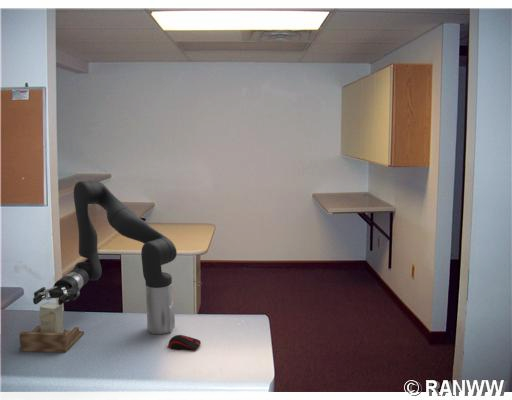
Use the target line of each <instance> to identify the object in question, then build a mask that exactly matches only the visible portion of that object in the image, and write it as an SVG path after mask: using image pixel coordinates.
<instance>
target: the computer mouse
mask: <svg viewBox="0 0 512 400" xmlns="http://www.w3.org/2000/svg"><path fill="white" fill-rule="evenodd" d="M200 346H201V340H199V339H198V338H194V337H191V336H189V335H188V336H187V335H183V334H175V335H173V336H172V337H171V338H170V339H169V342H168V345H167V347H168V349H169V350H172V351H196V350H198V349H199V348H200Z"/></svg>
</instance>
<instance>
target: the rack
mask: <svg viewBox="0 0 512 400" xmlns="http://www.w3.org/2000/svg"><path fill="white" fill-rule="evenodd" d="M18 334H19V335H18V336H19V346H18V350H24V351H23V352H25V351H26V352H42V353H44V352H46V353H67V352H68V351H69V350H71V348H72V347H73V346H74V345H75V344H76V342H78V341H79V340H80V339H81V337H83V336H84V334H85V331H84V330H80V327H77V326H75V327H74V328H73V329H71V330H65V329H63V333H45V332H41V326H40V325H37V326H36V327H34V328H33V329H32V330H31V331H20V332H19V333H18Z"/></svg>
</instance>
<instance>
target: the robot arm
mask: <svg viewBox="0 0 512 400" xmlns="http://www.w3.org/2000/svg"><path fill="white" fill-rule="evenodd" d="M73 199H74V209H75V215H76V216H75V217H76V221H77V228H78V255H79V256H80V257H82V258H84V259H87V260H88V261H79V262H77V263H76V264H75V265H74V267H73V269H72V271H71V272H69V273H67V274H65V275H64V276H62V277H60V278H59V279H58V280H56V282H54V284H53V286H52V287H50V288H47V289H46V287H44V286H43V287H41V288H39V289H38V290H36V291H34V292H33V298H32V301H33V304H34V305H38V304H39V303H40V302H42V301H45V300H46V301H49V300H53V299H54V300H55V299H56V300H57V299H58V300H57V304H59V305H62V306H63V304H65V303H66V302H69V301H71V302H73V301H75V300H77V298H79V296H81V293H80V290H81V288H83V287H84V286H85V285H86V284H87V283H88V281H99V279H100V278H101V277H102V272H103V271H102V265H101V261H100V257H99V253H98V234H97V230H96V229H95V226H94V225H93V223H92V222H91V218H90V215H89V205H99V206H100V207H101V208H103V209H104V210H105V211H106V217H107V219H106V220H107V222H108V223H109V225H110V226H111V228H112V229H114V230H115V231H116V232H117V233H119V235H121V236H122V237H125V238H128V239H131V240H133V241H137V242H139V243H143V245H142V246H141V263H142V264H141V265H142V275H143V278H144V280H145V281H144V282H145V302H146V304H145V305H146V323H147V324H146V326H147V328H146V329H147V332H149V333H150V334H154V335H163V334H169V333H172V331H174V328H175V326H176V318H175V301H173V278H172V275H171V274H170V273H168V272H164V271H162V266H163V265H166V264H170V263H171V262H172V261H174V260H175V259H176V258H177V255H178V253H177V252H178V250H177V248H176V246H175V244H174V243H173V241H172V240H171V239H170V238H168V237H167V236H165V235H164V234H162V233H161V232H159V231H158V230H156V229H155V228H153V227H152V226H151V225H149V224H148V223H147V222H146V221H145V220H143V219H142V218H141V217H139V215H137V214H136V213H135V212H134V211H133V210H132V209H130V207H128V206H127V205H125V204H124V203H123V202H122V201H120V200H119V198H117V197H116V196H115V195H114V194H113V193H112V192H111V191H110V189H109V188H108V187H107V186H106V185H105V184H104V183H103V182H101V181H99V180H82V181H78V182H76V184H74V187H73Z"/></svg>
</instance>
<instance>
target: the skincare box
mask: <svg viewBox="0 0 512 400" xmlns="http://www.w3.org/2000/svg"><path fill="white" fill-rule="evenodd" d="M63 314H64V313H63V304H62V305H59V304H58V303H55V302H45V303H43V304H42V305H39V324H40V325H39V326H41V332H45V333H63V330H64V315H63Z"/></svg>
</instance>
